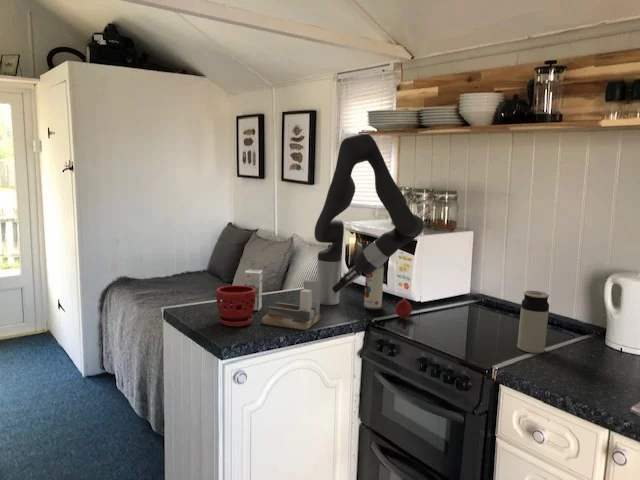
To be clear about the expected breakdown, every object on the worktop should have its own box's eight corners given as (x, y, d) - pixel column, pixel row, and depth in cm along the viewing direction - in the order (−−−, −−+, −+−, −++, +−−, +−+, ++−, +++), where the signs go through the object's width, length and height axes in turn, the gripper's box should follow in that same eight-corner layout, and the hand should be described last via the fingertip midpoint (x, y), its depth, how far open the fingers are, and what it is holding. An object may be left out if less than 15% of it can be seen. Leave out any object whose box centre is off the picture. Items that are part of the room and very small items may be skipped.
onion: (407, 322, 192) (408, 300, 191) (392, 319, 195) (393, 297, 194) (413, 318, 197) (414, 297, 195) (398, 315, 200) (400, 294, 198)
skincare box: (319, 310, 202) (320, 279, 200) (319, 314, 198) (320, 281, 196) (303, 310, 202) (304, 278, 200) (302, 313, 198) (303, 281, 196)
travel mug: (516, 351, 166) (522, 294, 164) (517, 343, 174) (522, 289, 171) (544, 355, 163) (550, 297, 161) (544, 347, 171) (549, 292, 168)
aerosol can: (361, 305, 213) (364, 255, 210) (377, 304, 215) (380, 254, 212) (368, 309, 206) (370, 258, 203) (384, 308, 208) (387, 258, 205)
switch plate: (278, 313, 197) (279, 299, 196) (320, 319, 191) (320, 305, 191) (262, 323, 183) (262, 309, 183) (305, 330, 178) (306, 315, 178)
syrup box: (261, 307, 204) (262, 269, 202) (258, 311, 198) (259, 272, 196) (247, 306, 204) (247, 268, 202) (243, 310, 198) (244, 271, 196)
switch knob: (300, 314, 188) (301, 288, 187) (314, 316, 187) (315, 290, 185) (296, 318, 184) (297, 291, 183) (309, 319, 183) (310, 292, 181)
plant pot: (261, 320, 186) (262, 287, 185) (241, 331, 175) (242, 295, 173) (230, 315, 192) (230, 282, 190) (208, 324, 180) (208, 289, 178)
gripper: (369, 246, 182) (333, 278, 187) (359, 252, 169) (320, 285, 175) (383, 263, 181) (347, 294, 186) (374, 270, 168) (335, 303, 174)
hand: (334, 290), depth 181 cm, fingers closed
